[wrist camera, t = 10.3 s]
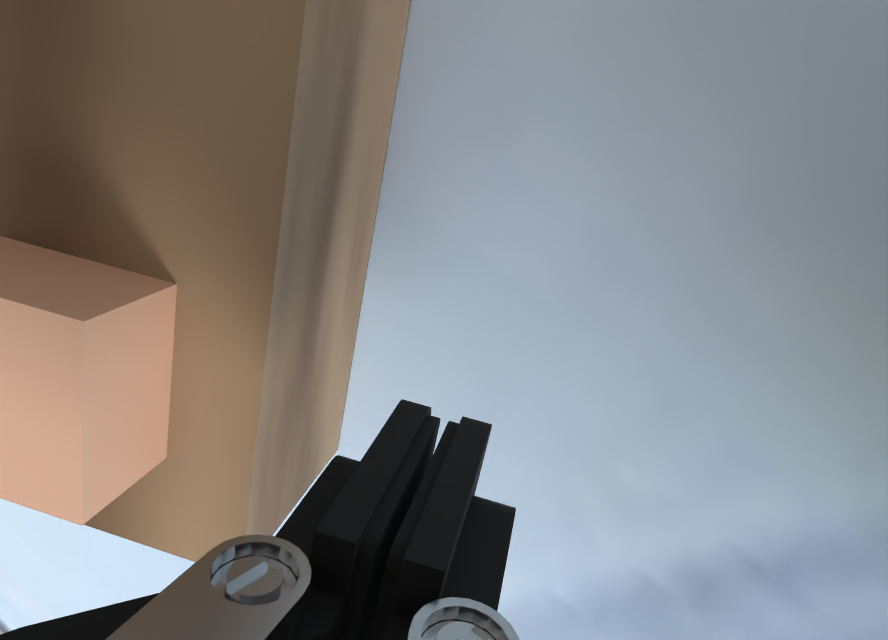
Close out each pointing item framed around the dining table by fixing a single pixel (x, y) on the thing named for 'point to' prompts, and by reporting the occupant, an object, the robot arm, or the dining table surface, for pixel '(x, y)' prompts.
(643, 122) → the dining table surface
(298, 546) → the robot arm
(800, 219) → the dining table surface
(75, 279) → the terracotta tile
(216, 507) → the bench plate
